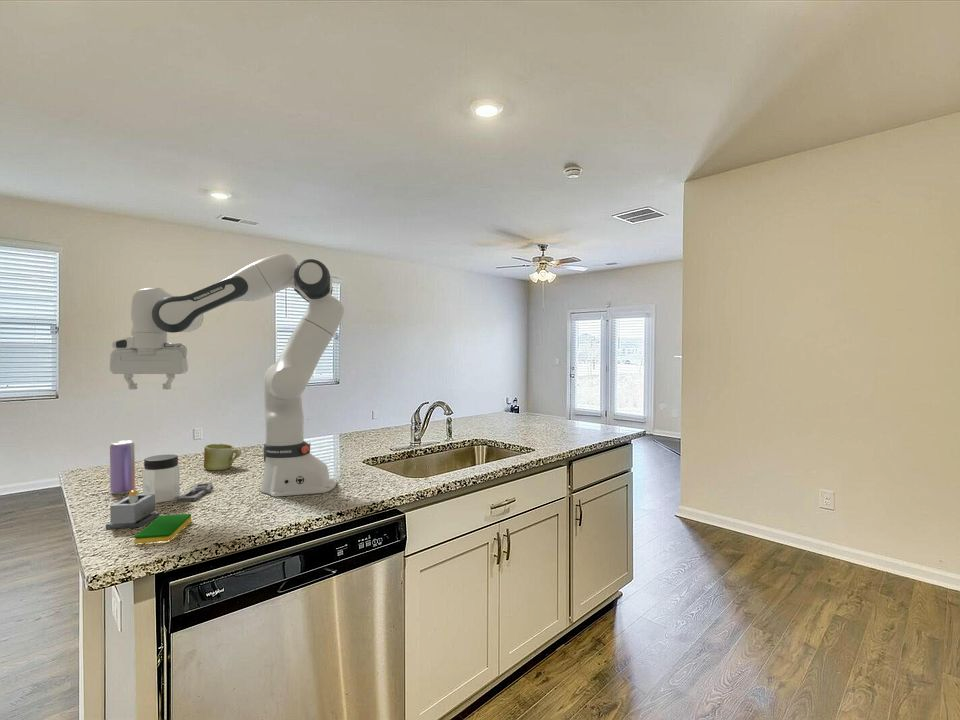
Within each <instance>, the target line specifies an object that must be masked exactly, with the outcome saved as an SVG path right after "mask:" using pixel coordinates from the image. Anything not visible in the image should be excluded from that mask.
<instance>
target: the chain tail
mask: <svg viewBox="0 0 960 720" xmlns="http://www.w3.org/2000/svg"><path fill="white" fill-rule="evenodd" d="M212 487H213V482H204V483H195V484H193V486H192V489H189V490H188V491H186V492H184V493H183V494H182V495H179V496H178V497H177V498H176V501H177V502H195V501H197V500H199V499H200V498H202V497H203V496H204V495H207V494H210V493H211V490H212ZM192 495H193V496H192Z"/></svg>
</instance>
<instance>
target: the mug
mask: <svg viewBox="0 0 960 720" xmlns="http://www.w3.org/2000/svg"><path fill="white" fill-rule="evenodd" d="M234 454H235V456H234ZM241 455H242V450H241V449H239V448H234V446H233V445H231V444H226V443H218V444H217V443H211V444H206V445H205V446H204V452H203V468H204V469H205V470H206V471H225V470H228V469H229V468H230V469H231V467H232V465H233V463H234V461H235V460H237V458H239V457H240V456H241Z"/></svg>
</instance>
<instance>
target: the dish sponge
mask: <svg viewBox="0 0 960 720" xmlns="http://www.w3.org/2000/svg"><path fill="white" fill-rule="evenodd" d="M190 521H191V522H192V513H181V514H180V513H179V514H165V515H164V514H162V515H159V517H157V518H156V519H154V520H152V521H151V522H149V523H148V524H147V526H146V527H144V528H143V529H142V530H140V531H139V532H138V533H137V534H136V535H135V536H134V544H135V543H146V542H157V541H168V540H171V539H172V538H173V537H174V536H175V535H176V534H178V533H179V532H180V531H181V530H182V529H183V528H184V527H185V526H186V525H187V524H188V523H189V522H190ZM191 522H190V523H191ZM190 523H189V524H190ZM189 524H188V525H189ZM188 525H187V526H188ZM187 526H186V527H187ZM186 527H185V528H186ZM185 528H184V529H185ZM184 529H183V530H184ZM183 530H182V531H183ZM182 531H181V532H182ZM181 532H180V533H181ZM180 533H179V534H180ZM179 534H178V535H179Z"/></svg>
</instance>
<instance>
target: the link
mask: <svg viewBox="0 0 960 720" xmlns="http://www.w3.org/2000/svg"><path fill="white" fill-rule="evenodd" d="M109 508H110V510H109V513H110V514H109V515H110V517H109V518H110V520H109V521H110V523H111V524H123V523H136V522H137V521H139V520H141V519H142V518H144V517H146V516H147V515H149V514H150V513H152V512H155V511H156V503H155V494H143V493H138V501H136V502H134V503H132V504H129V495H128V496H127V497H125V498H123V499H121V500H118V501H117V502H115V503H113V504H111V505H110V507H109Z"/></svg>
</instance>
